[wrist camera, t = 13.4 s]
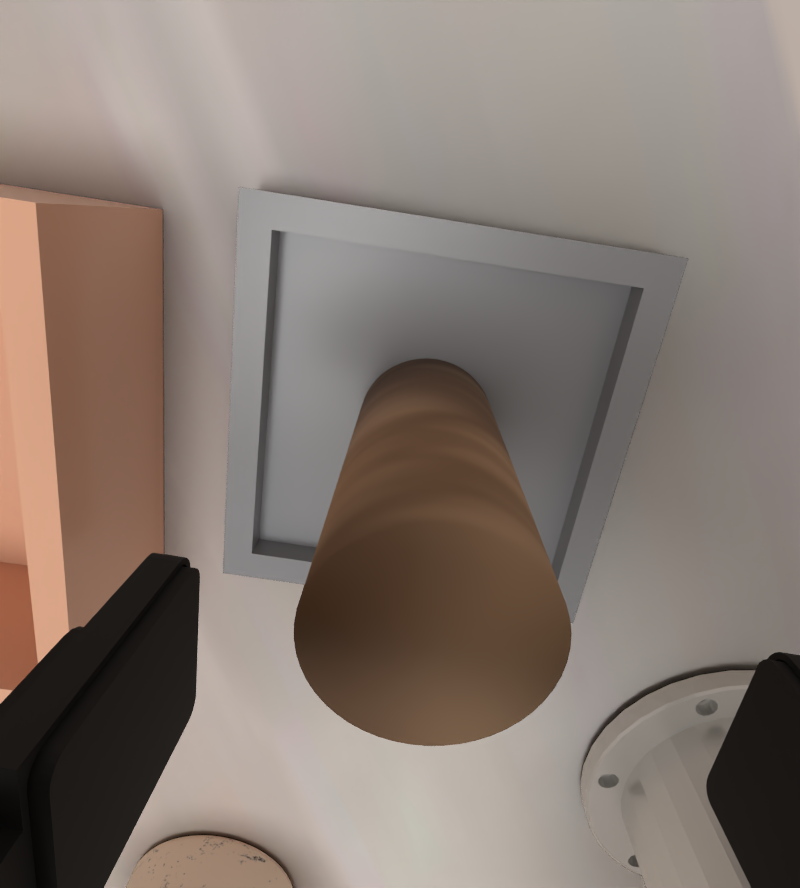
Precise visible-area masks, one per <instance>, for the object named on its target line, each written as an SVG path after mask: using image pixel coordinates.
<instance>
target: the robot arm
mask: <svg viewBox="0 0 800 888" xmlns="http://www.w3.org/2000/svg"><path fill="white" fill-rule="evenodd" d="M199 583H200V573H199V570H198V569H196V568H190V562H189V560H188V559H187V558H185V557H178V556H172V555H166V554H159V553H151V554H150V555H149V556H147V558H146V559H145V560H144V561H143V562H142V563H141V564H140V565H139V566H138V568H137V569H136V570H135V571H134V572H133V573H132V574H131V575H130V576H129V578H128V579H127V580H126V581H125V582H124V583H123V584H122V585H121V586H120V587H119V589H118V590H117V591H116V592H115V593H114V594H113V595H112V596H111V597H110V599H109V600H108V601H107V602H106V603H105V604H104V605H103V606H102V607H101V608H100V610H99V611H98V612H97V613H96V614H95V615H94V616H93V617H92V618H91V620H90V621H89V622H88V623H87V624H86V625H85V626H84V627H81V626H79V627H76V628H73V629H71V630H70V631H69V632H68V633H67V634H65V635H64V636H63V637H62V638H61V639H60V641H59V642H58V643H57V644H56V645H55V646H54V647H53V648H52V649H51V650H50V651H49V652H48V653H47V654H46V656H45V657H44V658H43V659H42V660H41V661H40V662H39V663H38V664H37V665H36V666H35V667H34V668H33V669H32V671H31V672H30V673H29V674H28V675H27V676H26V677H25V678H24V679H23V680H22V681H21V682H20V683H19V684H18V686H17V687H16V688H15V689H14V690H13V691H12V692H11V693H10V694H9V695H8V696H7V697H6V698H5V699H4V701H3V702H2V703H1V704H0V888H104V886H105V884H106V882H107V880H108V878H109V876H110V874H111V872H112V870H113V868H114V866H115V864H116V862H117V860H118V859H119V857H120V855H121V853H122V851H123V849H124V847H125V845H126V843H127V841H128V839H129V837H130V835H131V833H132V831H133V829H134V827H135V825H136V823H137V821H138V819H139V817H140V815H141V813H142V811H143V809H144V807H145V805H146V803H147V802H148V800H149V798H150V796H151V794H152V792H153V790H154V788H155V786H156V784H157V782H158V780H159V778H160V776H161V774H162V772H163V770H164V768H165V766H166V764H167V762H168V760H169V758H170V756H171V754H172V752H173V750H174V748H175V747H176V745H177V743H178V741H179V739H180V737H181V735H182V733H183V731H184V729H185V727H186V725H187V723H188V721H189V719H190V716H191V714H192V711H193V707H194V703H195V697H196V673H197V643H198V613H199ZM580 786H581V795H582V803H583V806H584V810H585V813H586V816H587V820H588V823H589V827H590V829H591V831H592V833H593V834H594V836H595V838H596V840H597V842H598V843H599V845H600V846H601V847H602V848H603V849H604V850H605V851H606V852H607V853H608V854H609V855H610V856H611V857H612V858H613V859H614V860H616V861H617V862H618V863H620V864H621V865H622V866H624V867H625V868H627V869H629V870H631V871H633V872H635V873H637V874H639V875H641V876H643V879H644V882H645V885H646V888H800V655H794V654H788V653H781V652H778V653H774V654H772V655H771V656H769V658H768V659H767V660H763V661H761V662H760V663H759V665H758V666H757V668H756V670H730V671H723V672H716V673H710V674H703V675H698V676H695V677H692V678H688V679H685V680H682V681H678V682H675V683H672V684H669V685H667V686H665V687H663V688H661V689H659V690H657V691H654V692H652V693H650V694H648V695H646V696H644V697H643V698H641V699H640V700H638V701H637V702H635V703H634V704H632V705H631V706H629V707H628V708H626V709H625V710H623V711H622V712H621V713H620V714H619V715H618V716H617V717H616V718H615V719H614V720H613V721H612V722H611V723H610V724H609V725H607V726H606V727H605V729H604V730H603V731H602V733H601V734H600V735H599V737H598V738H597V740H596V741H595V742H594V744H593V745H592V747H591V749H590V751H589V754H588V756H587V758H586V760H585V763H584V765H583V771H582V777H581V783H580Z"/></svg>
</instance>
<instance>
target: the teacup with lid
mask: <svg viewBox="0 0 800 888" xmlns="http://www.w3.org/2000/svg"><path fill="white" fill-rule="evenodd" d="M126 888H293V887H292V884H291V882H290V880H289V878H288V876H287V874H286V873H285V872H284V870H283V869H282V868H281V867H280V865H279V864H278V863H276V862H275V861H274V860H273V859H272V858H271V857H269V856H268V855H267V854H265V853H264V852H262V851H260V850H259V849H257V848H255V847H253V846H251V845H248V844H246V843H243V842H241V841H237V840H234V839H230V838H226V837H220V836H211V835H194V836H185V837H180V838H176V839H172V840H169V841H166V842H164V843H162V844H160V845H158V846H156V847H155V848H153V849H151V850H150V851H149V852H148V853H146V854H145V855H144V856H143V857H142V859H141V860H140V861H139V862H138V864H137V865H136V867H135V869H134V871H133V873H132V875H131V878H130V880H129V882H128V884H127V887H126Z"/></svg>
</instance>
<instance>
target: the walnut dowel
mask: <svg viewBox="0 0 800 888" xmlns="http://www.w3.org/2000/svg"><path fill="white" fill-rule="evenodd" d="M294 642H295V649H296V654H297V658H298V661H299V664H300V667H301V669H302V671H303V673H304V676H305V678H306V680H307V681H308V683H309V684H310V686H311V687H312V689H313V690H314V692H315V693H316V694H317V695H318V696H319V698H320V699H321V700H322V701H323V702H324V703H325V704H326V705H327V706H328V707H329V708H330V709H331V710H333V711H334V712H335V713H336V714H337V715H339V716H340V717H342V718H343V719H344V720H346V721H347V722H349V723H351V724H352V725H354V726H356V727H358V728H360V729H362V730H364V731H366V732H368V733H371V734H373V735H376V736H378V737H382V738H385V739H388V740H392V741H396V742H401V743H406V744H413V745H424V746H444V745H453V744H461V743H466V742H471V741H476V740H479V739H482V738H485V737H488V736H492V735H494V734H496V733H498V732H501V731H503V730H505V729H507V728H509V727H511V726H513V725H514V724H516V723H518V722H519V721H521V720H522V719H524V718H525V717H526V716H528V715H529V714H530V713H532V712H533V711H534V710H535V709H536V708H537V707H538V706H539V705H540V704H541V703H543V702H544V700H545V699H546V698H547V697H548V695H549V694H550V693H551V692H552V691H553V689H554V688H555V686H556V684H557V683H558V681H559V679H560V678H561V676H562V673H563V671H564V668H565V666H566V663H567V660H568V656H569V652H570V645H571V624H570V617H569V613H568V609H567V605H566V602H565V599H564V597H563V594H562V592H561V589H560V586H559V584H558V581H557V579H556V576H555V573H554V571H553V568H552V566H551V563H550V560H549V558H548V555H547V553H546V550H545V547H544V545H543V542H542V540H541V537H540V534H539V532H538V529H537V527H536V524H535V521H534V519H533V516H532V514H531V511H530V508H529V506H528V503H527V501H526V498H525V495H524V493H523V490H522V488H521V485H520V482H519V480H518V477H517V475H516V472H515V469H514V467H513V464H512V462H511V459H510V456H509V454H508V451H507V449H506V446H505V443H504V441H503V438H502V436H501V433H500V430H499V428H498V425H497V423H496V420H495V417H494V415H493V412H492V410H491V407H490V404H489V402H488V399H487V397H486V395H485V393H484V391H483V389H482V388H481V386H480V385H479V384H478V382H477V381H476V380H475V379H474V378H473V377H472V376H471V375H470V374H469V373H467V372H466V371H465V370H463V369H462V368H460V367H458V366H456V365H454V364H452V363H449V362H446V361H442V360H438V359H429V358H425V359H414V360H409V361H406V362H403V363H400V364H398V365H396V366H393V367H392V368H390V369H389V370H387V371H386V372H384V373H383V374H382V375H381V376H379V377H378V379H377V380H376V381H375V382H374V383H373V384H372V386H371V387H370V389H369V390H368V392H367V394H366V396H365V398H364V401H363V404H362V407H361V410H360V413H359V416H358V419H357V422H356V425H355V428H354V432H353V435H352V438H351V441H350V444H349V447H348V450H347V454H346V457H345V460H344V463H343V466H342V469H341V472H340V475H339V479H338V482H337V485H336V488H335V491H334V494H333V497H332V501H331V504H330V507H329V510H328V513H327V516H326V519H325V522H324V526H323V529H322V532H321V535H320V538H319V541H318V544H317V548H316V551H315V554H314V557H313V560H312V563H311V566H310V569H309V573H308V576H307V579H306V582H305V585H304V588H303V591H302V595H301V598H300V601H299V604H298V607H297V611H296V617H295V622H294Z"/></svg>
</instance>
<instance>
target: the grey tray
mask: <svg viewBox="0 0 800 888" xmlns="http://www.w3.org/2000/svg"><path fill="white" fill-rule="evenodd" d="M687 261H688V258H683V257H677V256H671V255H664V254H658V253H652V252H645V251H639V250H633V249H627V248H620V247H614V246H608V245H601V244H595V243H589V242H583V241H576V240H570V239H564V238H557V237H551V236H545V235H539V234H532V233H526V232H520V231H514V230H507V229H501V228H495V227H488V226H482V225H476V224H470V223H463V222H457V221H451V220H444V219H438V218H432V217H426V216H419V215H413V214H407V213H400V212H394V211H388V210H382V209H375V208H369V207H363V206H356V205H350V204H344V203H338V202H331V201H325V200H319V199H312V198H306V197H300V196H294V195H287V194H281V193H275V192H268V191H262V190H256V189H250V188H243V187H239V196H238V220H237V244H236V269H235V293H234V317H233V342H232V366H231V390H230V415H229V439H228V463H227V488H226V512H225V536H224V561H223V573H227V574H234V575H241V576H248V577H255V578H262V579H269V580H276V581H282V582H289V583H296V584H303V585H305V582H306V579H307V576H308V573H309V569H310V566H311V563H312V560H313V557H314V554H315V551H316V548H317V544H318V541H319V538H320V535H321V532H322V529H323V526H324V522H325V519H326V516H327V513H328V510H329V507H330V504H331V501H332V497H333V494H334V491H335V488H336V485H337V482H338V479H339V475H340V472H341V469H342V466H343V463H344V460H345V457H346V454H347V450H348V447H349V444H350V441H351V438H352V435H353V432H354V428H355V425H356V422H357V419H358V416H359V413H360V410H361V407H362V404H363V401H364V398H365V396H366V394H367V392H368V390H369V389H370V387H371V386H372V384H373V383H374V382H375V381H376V380H377V379H378V377H379V376H381V375H382V374H383V373H384V372H386V371H387V370H389V369H390V368H392V367H393V366H396V365H398V364H400V363H403V362H406V361H409V360H414V359H425V358H429V359H438V360H442V361H446V362H449V363H452V364H454V365H456V366H458V367H460V368H462V369H463V370H465V371H466V372H467V373H469V374H470V375H471V376H472V377H473V378H474V379H475V380H476V381H477V382H478V384H479V385H480V386H481V388H482V389H483V391H484V393H485V395H486V397H487V399H488V402H489V404H490V407H491V410H492V412H493V415H494V417H495V420H496V423H497V425H498V428H499V430H500V433H501V436H502V438H503V441H504V443H505V446H506V449H507V451H508V454H509V456H510V459H511V462H512V464H513V467H514V469H515V472H516V475H517V477H518V480H519V482H520V485H521V488H522V490H523V493H524V495H525V498H526V501H527V503H528V506H529V508H530V511H531V514H532V516H533V519H534V521H535V524H536V527H537V529H538V532H539V534H540V537H541V540H542V542H543V545H544V547H545V550H546V553H547V555H548V558H549V560H550V563H551V566H552V568H553V571H554V573H555V576H556V579H557V581H558V584H559V586H560V589H561V592H562V594H563V597H564V599H565V602H566V605H567V609H568V613H569V617H570V623H573V622H574V618H575V615H576V612H577V609H578V606H579V603H580V599H581V596H582V593H583V590H584V587H585V584H586V580H587V577H588V574H589V571H590V568H591V565H592V562H593V558H594V555H595V552H596V549H597V546H598V543H599V539H600V536H601V533H602V530H603V527H604V524H605V520H606V517H607V514H608V511H609V508H610V505H611V501H612V498H613V495H614V492H615V489H616V486H617V482H618V479H619V476H620V473H621V470H622V467H623V464H624V460H625V457H626V454H627V451H628V448H629V445H630V441H631V438H632V435H633V432H634V429H635V426H636V422H637V419H638V416H639V413H640V410H641V407H642V403H643V400H644V397H645V394H646V391H647V388H648V385H649V381H650V378H651V375H652V372H653V369H654V366H655V362H656V359H657V356H658V353H659V350H660V347H661V343H662V340H663V337H664V334H665V331H666V328H667V324H668V321H669V318H670V315H671V312H672V309H673V306H674V302H675V299H676V296H677V293H678V290H679V287H680V283H681V280H682V277H683V274H684V271H685V268H686V264H687Z"/></svg>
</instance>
